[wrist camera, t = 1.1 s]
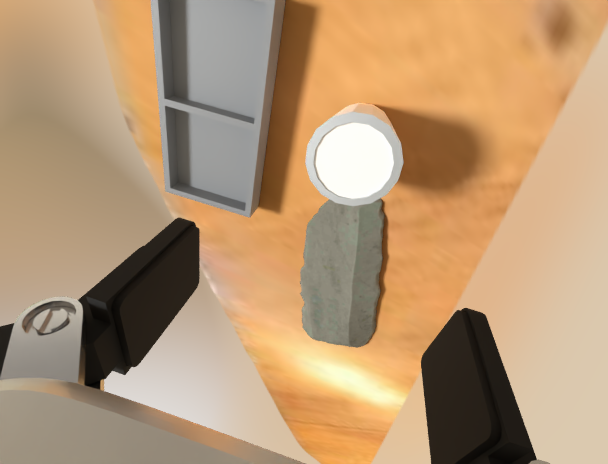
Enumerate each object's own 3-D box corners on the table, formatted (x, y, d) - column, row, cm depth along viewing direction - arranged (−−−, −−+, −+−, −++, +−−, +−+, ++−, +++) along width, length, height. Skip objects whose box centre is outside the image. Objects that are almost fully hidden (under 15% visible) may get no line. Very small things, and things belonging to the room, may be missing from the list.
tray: (178, 182, 34) (165, 191, 32) (168, -31, 23) (147, -37, 21) (258, 206, 33) (249, 217, 31) (285, -2, 23) (275, -5, 21)
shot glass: (360, 75, 24) (351, 87, 18) (417, 134, 26) (426, 162, 20) (307, 138, 28) (286, 164, 22) (359, 186, 29) (352, 223, 24)
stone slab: (307, 323, 45) (374, 342, 42) (300, 338, 43) (370, 359, 39) (300, 184, 33) (394, 195, 30) (290, 194, 31) (390, 207, 28)
